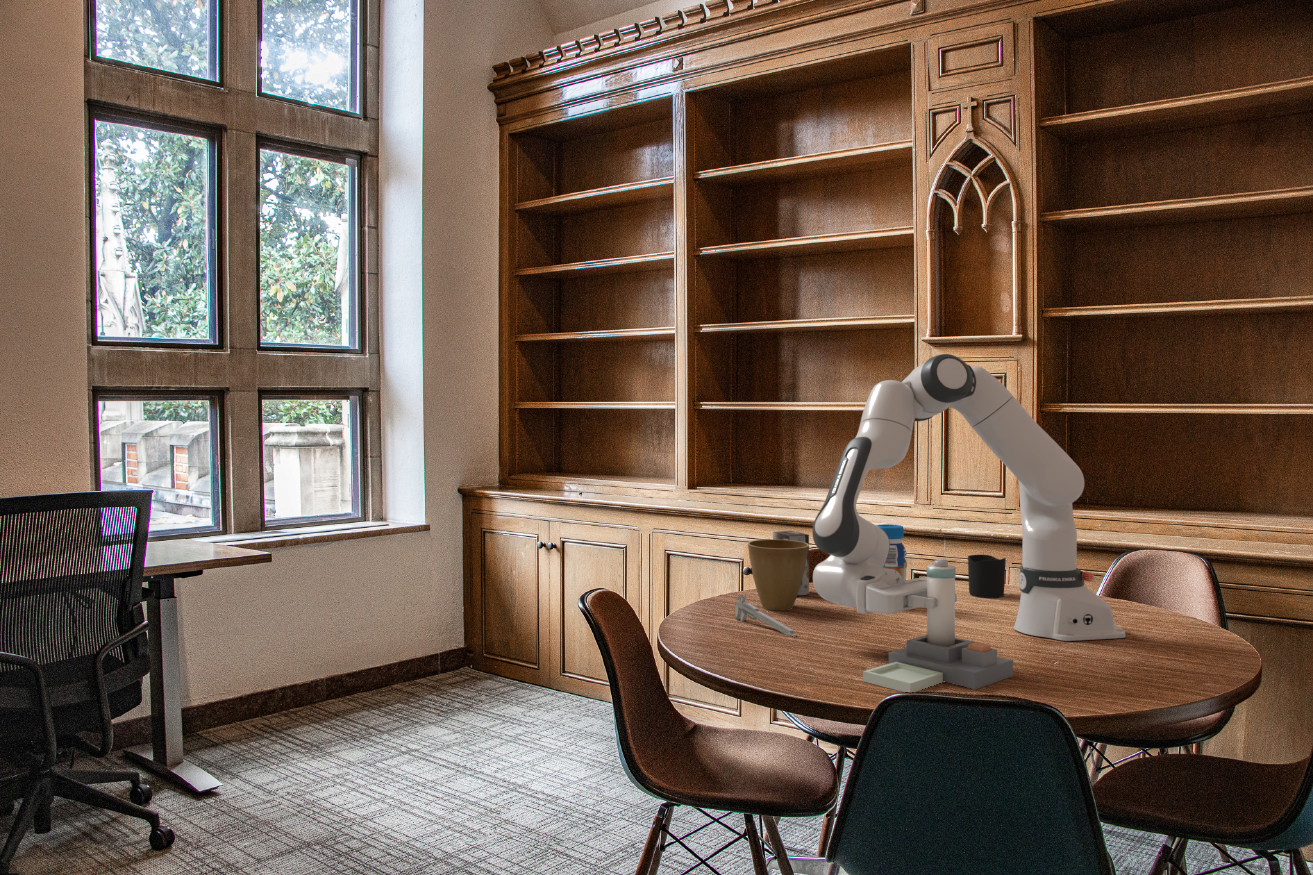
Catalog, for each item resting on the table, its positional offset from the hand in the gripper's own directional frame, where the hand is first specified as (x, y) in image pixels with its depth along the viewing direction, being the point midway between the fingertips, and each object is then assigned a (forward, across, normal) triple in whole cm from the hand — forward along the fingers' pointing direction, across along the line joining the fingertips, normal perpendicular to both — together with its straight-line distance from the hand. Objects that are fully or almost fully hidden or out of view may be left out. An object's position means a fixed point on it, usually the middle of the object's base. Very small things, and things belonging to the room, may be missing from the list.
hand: (945, 601), depth 178 cm
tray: (-1, +12, -13) cm, 18 cm away
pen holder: (-34, -72, -14) cm, 81 cm away
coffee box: (-69, -35, -14) cm, 79 cm away
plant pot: (-59, -19, -14) cm, 63 cm away
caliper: (-46, 0, -14) cm, 48 cm away
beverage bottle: (-42, -41, -14) cm, 61 cm away
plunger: (+7, 0, -10) cm, 12 cm away
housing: (+1, 0, -13) cm, 13 cm away
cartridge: (-1, 0, -10) cm, 10 cm away
